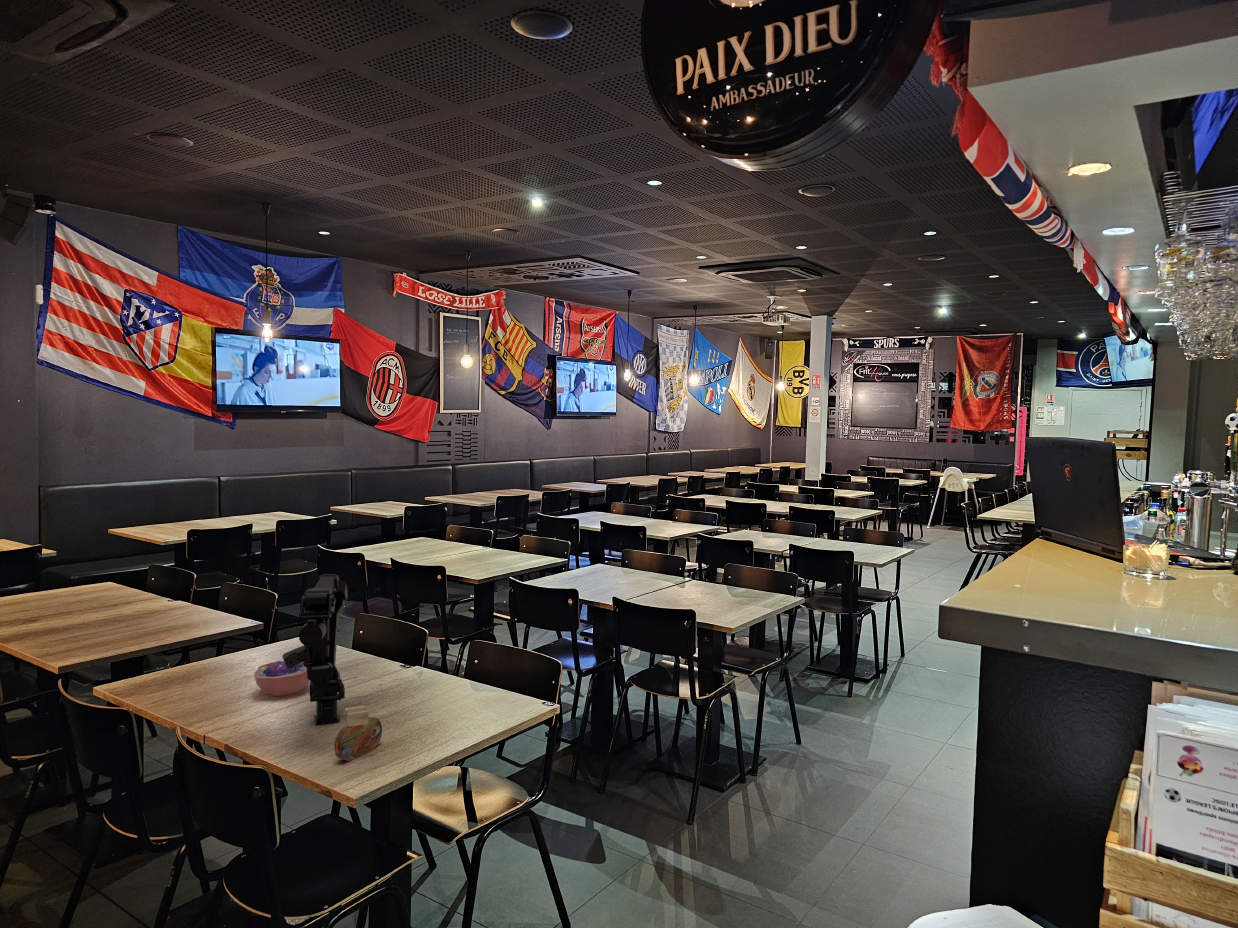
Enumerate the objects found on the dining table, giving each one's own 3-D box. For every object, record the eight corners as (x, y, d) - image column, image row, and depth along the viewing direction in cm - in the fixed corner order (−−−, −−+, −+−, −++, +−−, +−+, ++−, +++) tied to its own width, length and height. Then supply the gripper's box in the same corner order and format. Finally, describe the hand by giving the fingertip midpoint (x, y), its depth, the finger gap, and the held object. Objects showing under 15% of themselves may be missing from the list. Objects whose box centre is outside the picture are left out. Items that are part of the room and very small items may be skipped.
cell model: (324, 684, 246) (325, 650, 246) (292, 705, 226) (292, 668, 226) (276, 682, 248) (276, 648, 248) (240, 702, 228) (240, 666, 228)
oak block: (344, 720, 193) (344, 708, 193) (364, 717, 195) (364, 705, 195) (347, 726, 188) (347, 714, 188) (368, 723, 191) (368, 711, 191)
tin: (341, 766, 185) (341, 732, 184) (331, 763, 186) (332, 730, 186) (382, 744, 198) (383, 713, 198) (373, 742, 200) (373, 711, 199)
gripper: (282, 631, 203) (282, 687, 203) (286, 648, 186) (286, 710, 186) (326, 627, 208) (326, 682, 208) (333, 643, 191) (333, 703, 191)
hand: (317, 694), depth 198 cm, fingers open, 9 cm apart
